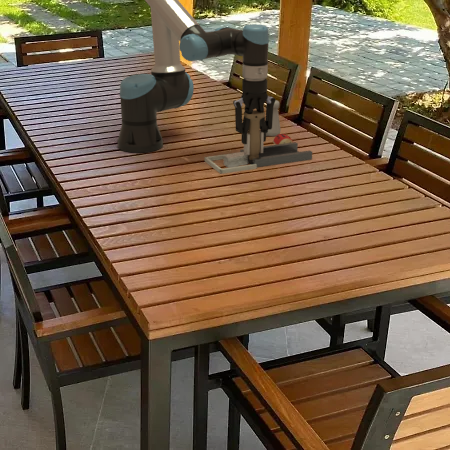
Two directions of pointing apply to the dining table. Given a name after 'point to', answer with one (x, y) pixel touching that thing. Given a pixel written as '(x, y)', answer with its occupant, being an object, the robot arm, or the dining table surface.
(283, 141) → the ladybug figurine
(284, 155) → the rail
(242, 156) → the pale beige cube
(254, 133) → the handle
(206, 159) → the tray
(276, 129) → the salt shaker
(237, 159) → the pale grey cube
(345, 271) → the dining table surface
